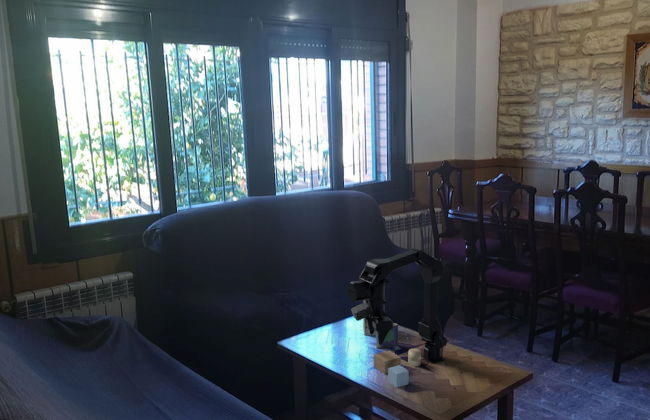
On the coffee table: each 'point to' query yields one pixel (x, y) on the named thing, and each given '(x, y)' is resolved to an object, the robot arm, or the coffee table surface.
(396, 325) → the flask
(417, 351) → the beech cylinder
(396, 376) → the blue cube
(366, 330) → the coffee box
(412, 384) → the coffee table surface
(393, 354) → the tan block
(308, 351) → the coffee table surface
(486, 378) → the coffee table surface
